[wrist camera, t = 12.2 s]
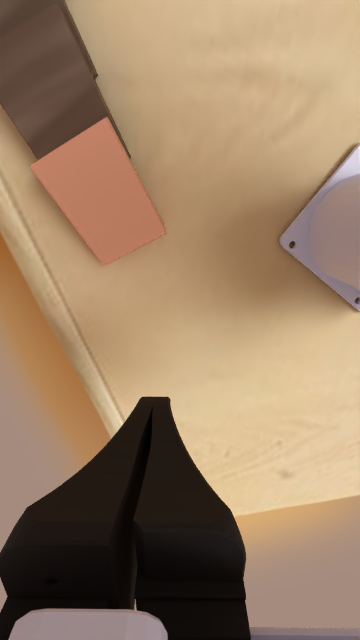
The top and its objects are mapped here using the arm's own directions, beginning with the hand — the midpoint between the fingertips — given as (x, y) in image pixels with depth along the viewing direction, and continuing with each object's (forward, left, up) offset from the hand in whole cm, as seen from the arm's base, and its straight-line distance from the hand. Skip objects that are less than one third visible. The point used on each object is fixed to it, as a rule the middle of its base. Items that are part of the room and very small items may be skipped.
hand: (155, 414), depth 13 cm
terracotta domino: (+6, -4, -10) cm, 12 cm away
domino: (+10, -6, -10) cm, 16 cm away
